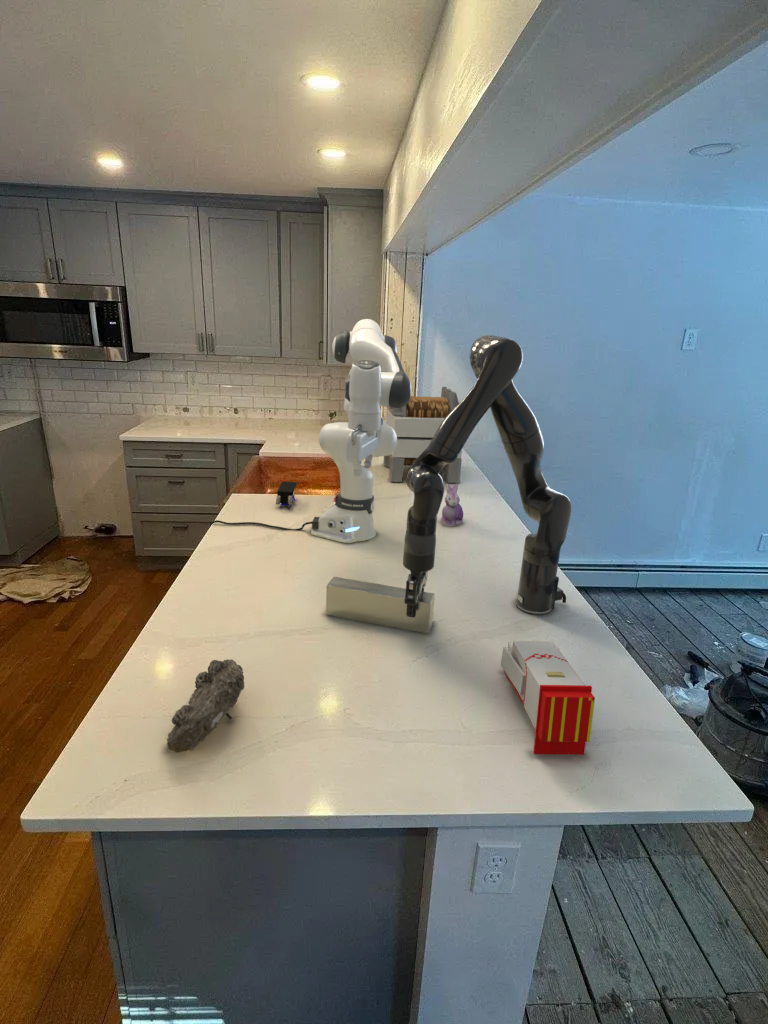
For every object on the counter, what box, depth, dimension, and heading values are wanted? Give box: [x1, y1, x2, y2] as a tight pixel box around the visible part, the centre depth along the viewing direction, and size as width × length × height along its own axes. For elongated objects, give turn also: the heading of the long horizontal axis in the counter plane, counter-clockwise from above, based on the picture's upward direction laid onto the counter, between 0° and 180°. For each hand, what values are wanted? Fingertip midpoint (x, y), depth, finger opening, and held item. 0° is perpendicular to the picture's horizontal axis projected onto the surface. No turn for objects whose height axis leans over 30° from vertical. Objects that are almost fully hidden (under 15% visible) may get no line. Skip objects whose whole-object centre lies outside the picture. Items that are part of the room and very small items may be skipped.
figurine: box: [440, 483, 464, 527], centre depth 210 cm, size 9×10×15 cm
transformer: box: [383, 386, 463, 484], centre depth 268 cm, size 34×33×41 cm
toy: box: [500, 640, 596, 756], centre depth 114 cm, size 12×13×30 cm
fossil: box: [166, 658, 245, 754], centre depth 106 cm, size 22×10×15 cm
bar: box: [325, 576, 436, 634], centre depth 143 cm, size 27×5×8 cm, turn 74°
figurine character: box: [275, 480, 298, 509], centre depth 223 cm, size 7×8×15 cm
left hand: (362, 471), depth 159 cm, fingers open, 8 cm apart
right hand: (414, 608), depth 141 cm, fingers open, 8 cm apart
